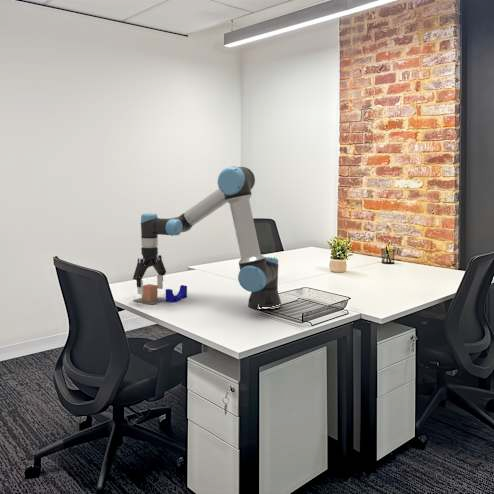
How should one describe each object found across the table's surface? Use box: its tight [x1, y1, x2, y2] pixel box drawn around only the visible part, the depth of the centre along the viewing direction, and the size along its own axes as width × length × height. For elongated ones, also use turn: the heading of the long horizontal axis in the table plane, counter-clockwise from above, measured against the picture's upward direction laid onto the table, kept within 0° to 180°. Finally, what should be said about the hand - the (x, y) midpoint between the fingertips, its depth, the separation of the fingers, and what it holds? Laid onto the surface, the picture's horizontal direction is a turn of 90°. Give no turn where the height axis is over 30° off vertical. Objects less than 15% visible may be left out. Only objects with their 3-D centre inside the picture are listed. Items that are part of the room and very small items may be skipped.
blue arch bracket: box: [165, 284, 188, 304], centre depth 251 cm, size 12×4×6 cm, turn 146°
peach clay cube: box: [141, 283, 159, 302], centre depth 248 cm, size 5×5×7 cm
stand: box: [132, 297, 166, 306], centre depth 248 cm, size 12×10×6 cm
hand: (150, 291), depth 247 cm, fingers open, 13 cm apart
